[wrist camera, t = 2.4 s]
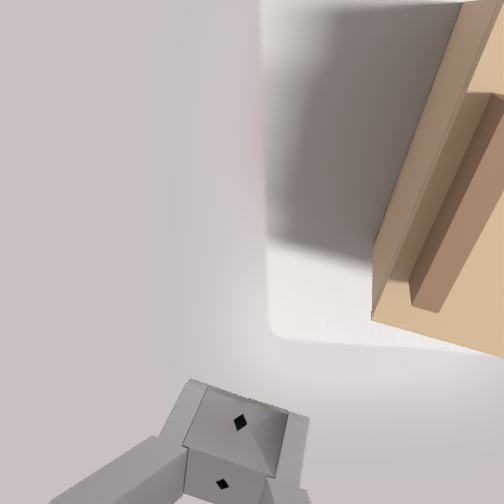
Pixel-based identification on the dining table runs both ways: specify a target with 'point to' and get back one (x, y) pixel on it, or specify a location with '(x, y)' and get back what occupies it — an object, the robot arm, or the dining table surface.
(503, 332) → the lid
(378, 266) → the box
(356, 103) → the dining table surface
